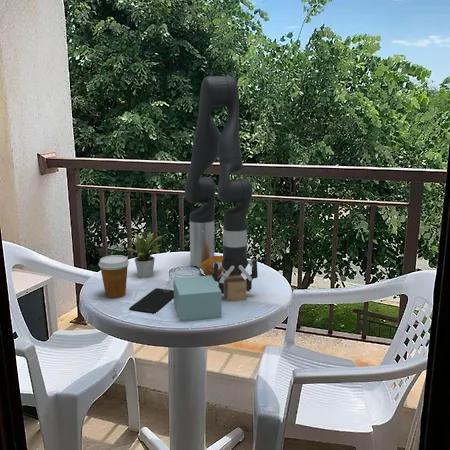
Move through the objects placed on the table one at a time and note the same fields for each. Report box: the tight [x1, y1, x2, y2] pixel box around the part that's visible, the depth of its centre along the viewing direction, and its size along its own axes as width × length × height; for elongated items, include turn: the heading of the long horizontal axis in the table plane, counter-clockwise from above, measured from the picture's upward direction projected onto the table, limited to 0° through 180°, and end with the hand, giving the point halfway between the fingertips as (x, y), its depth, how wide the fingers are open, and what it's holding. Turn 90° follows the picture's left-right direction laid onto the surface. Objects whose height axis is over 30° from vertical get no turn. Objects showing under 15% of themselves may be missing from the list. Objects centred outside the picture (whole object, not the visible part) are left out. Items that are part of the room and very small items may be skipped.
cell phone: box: [128, 287, 174, 315], centre depth 159 cm, size 9×18×1 cm, turn 160°
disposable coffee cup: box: [98, 254, 130, 299], centre depth 163 cm, size 10×10×12 cm
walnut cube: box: [223, 275, 247, 303], centre depth 161 cm, size 6×6×6 cm
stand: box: [172, 275, 222, 322], centre depth 152 cm, size 14×12×8 cm
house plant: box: [126, 231, 165, 279], centre depth 179 cm, size 14×14×16 cm
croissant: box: [198, 255, 242, 277], centre depth 182 cm, size 14×16×8 cm
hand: (234, 292), depth 162 cm, fingers open, 8 cm apart
